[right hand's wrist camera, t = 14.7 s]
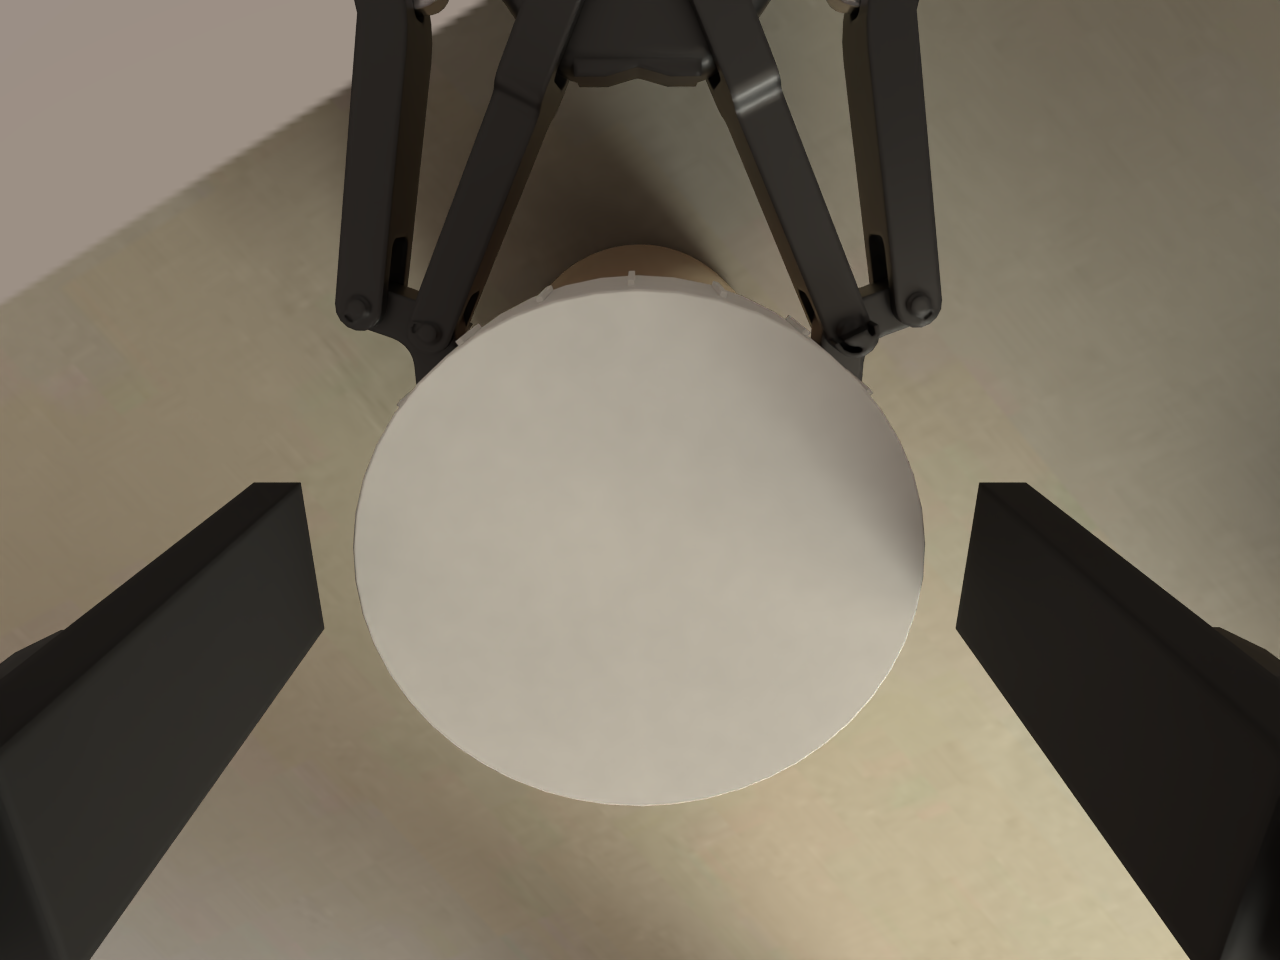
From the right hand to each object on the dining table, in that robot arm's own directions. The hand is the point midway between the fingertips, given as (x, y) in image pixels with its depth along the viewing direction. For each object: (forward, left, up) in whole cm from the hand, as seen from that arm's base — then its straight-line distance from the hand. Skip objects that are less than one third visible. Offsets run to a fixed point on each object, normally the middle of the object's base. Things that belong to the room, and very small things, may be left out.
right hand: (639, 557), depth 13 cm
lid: (0, 0, 0) cm, 0 cm away
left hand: (0, +5, -10) cm, 11 cm away
